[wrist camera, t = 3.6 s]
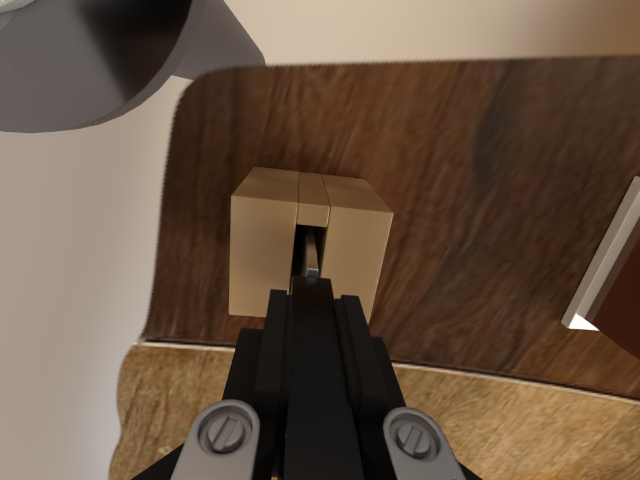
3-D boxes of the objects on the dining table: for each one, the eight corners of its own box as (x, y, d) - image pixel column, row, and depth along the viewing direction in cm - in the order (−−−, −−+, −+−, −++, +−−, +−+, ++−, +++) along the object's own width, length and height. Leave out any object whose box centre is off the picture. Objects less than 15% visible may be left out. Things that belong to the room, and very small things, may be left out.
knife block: (249, 253, 22) (228, 315, 15) (253, 165, 20) (230, 195, 13) (349, 262, 23) (368, 324, 16) (364, 178, 20) (394, 212, 14)
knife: (292, 237, 22) (269, 584, 6) (296, 194, 20) (282, 484, 5) (312, 239, 22) (343, 583, 6) (318, 196, 21) (373, 486, 5)
